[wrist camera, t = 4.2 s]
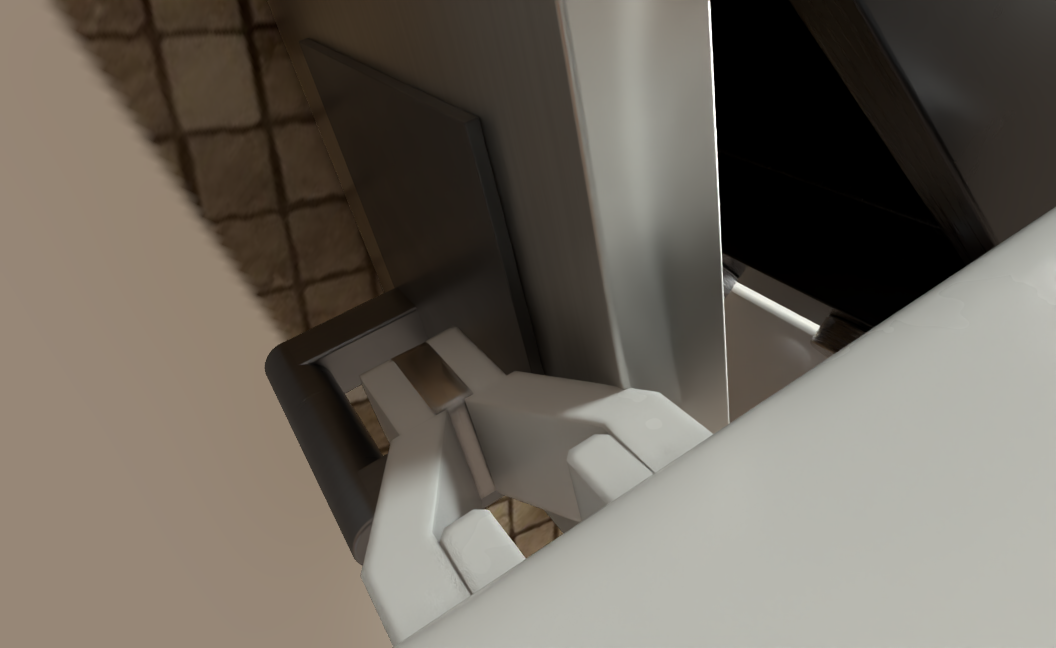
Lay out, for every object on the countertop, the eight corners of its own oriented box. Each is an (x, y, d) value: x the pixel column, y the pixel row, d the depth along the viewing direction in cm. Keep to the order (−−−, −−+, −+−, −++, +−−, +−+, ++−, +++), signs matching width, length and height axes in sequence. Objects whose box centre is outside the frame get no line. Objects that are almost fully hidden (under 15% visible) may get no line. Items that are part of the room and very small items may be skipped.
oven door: (288, 405, 19) (485, 804, 11) (41, -29, 13) (30, 88, 4) (452, 319, 21) (740, 606, 12) (308, -104, 14) (707, -134, 6)
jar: (796, 377, 33) (1074, 549, 24) (663, 478, 31) (914, 707, 22) (786, 220, 27) (1144, 367, 18) (623, 330, 25) (938, 556, 16)
